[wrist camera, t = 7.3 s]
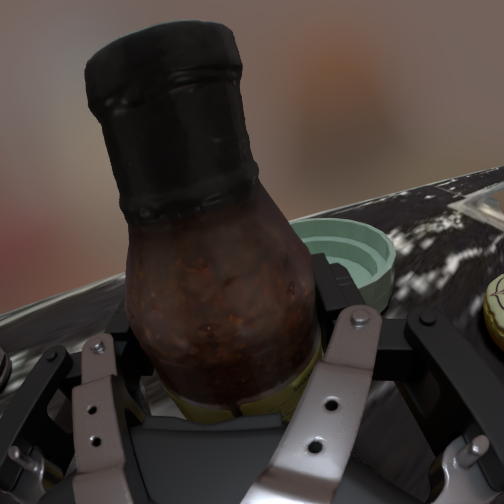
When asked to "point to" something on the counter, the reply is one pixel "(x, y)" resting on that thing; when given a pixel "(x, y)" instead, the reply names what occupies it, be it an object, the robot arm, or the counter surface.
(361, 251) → the bowl
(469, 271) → the counter surface
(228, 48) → the sauce bottle
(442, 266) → the counter surface
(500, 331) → the decorated donut
